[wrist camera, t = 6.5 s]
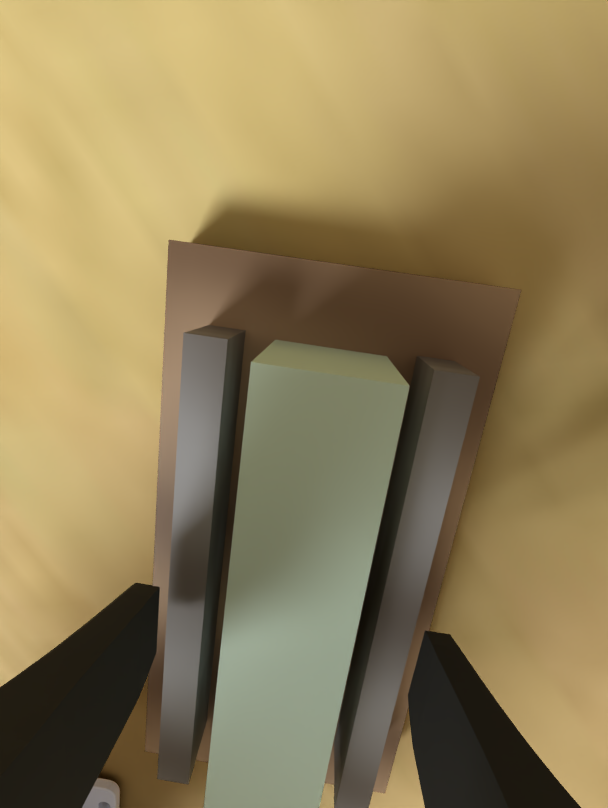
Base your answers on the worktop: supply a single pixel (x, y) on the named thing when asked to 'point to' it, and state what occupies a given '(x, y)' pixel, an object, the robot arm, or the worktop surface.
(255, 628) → the block
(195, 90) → the worktop surface
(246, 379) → the cradle
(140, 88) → the worktop surface
